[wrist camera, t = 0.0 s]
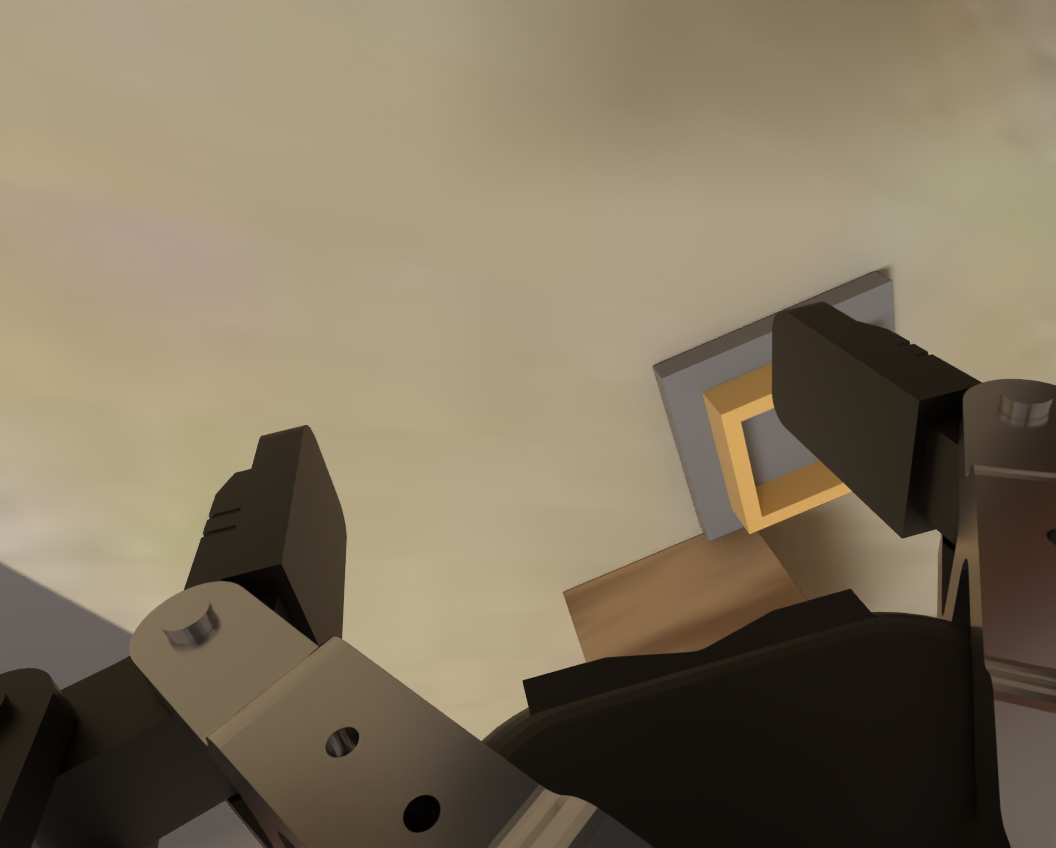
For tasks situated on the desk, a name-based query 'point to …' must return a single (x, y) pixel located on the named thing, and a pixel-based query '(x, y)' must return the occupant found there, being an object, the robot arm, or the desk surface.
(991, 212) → the desk surface
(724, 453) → the orange-framed grey plate
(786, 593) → the wood grain square block
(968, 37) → the desk surface
